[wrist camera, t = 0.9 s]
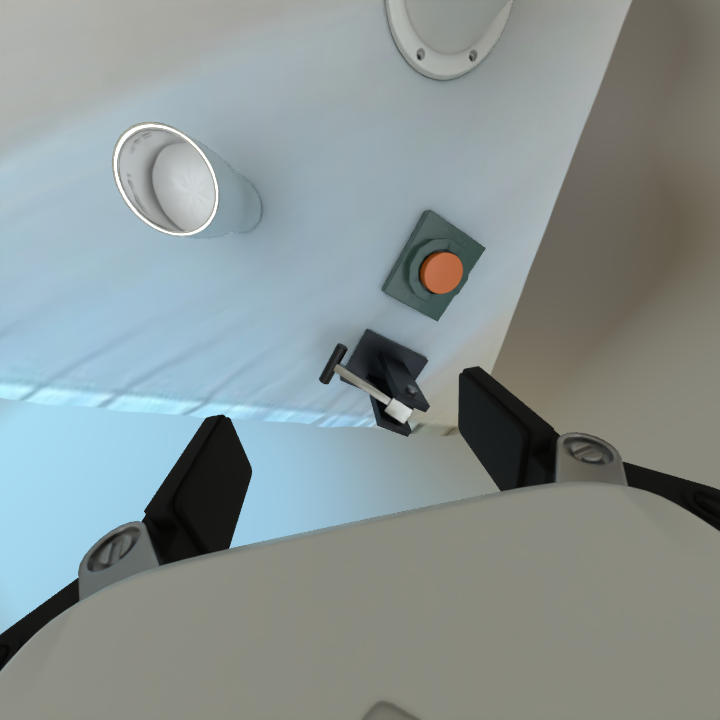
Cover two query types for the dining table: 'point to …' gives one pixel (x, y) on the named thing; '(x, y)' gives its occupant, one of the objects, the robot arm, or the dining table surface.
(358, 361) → the lever bracket
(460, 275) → the button
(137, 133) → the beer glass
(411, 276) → the block
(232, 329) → the dining table surface
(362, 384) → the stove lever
